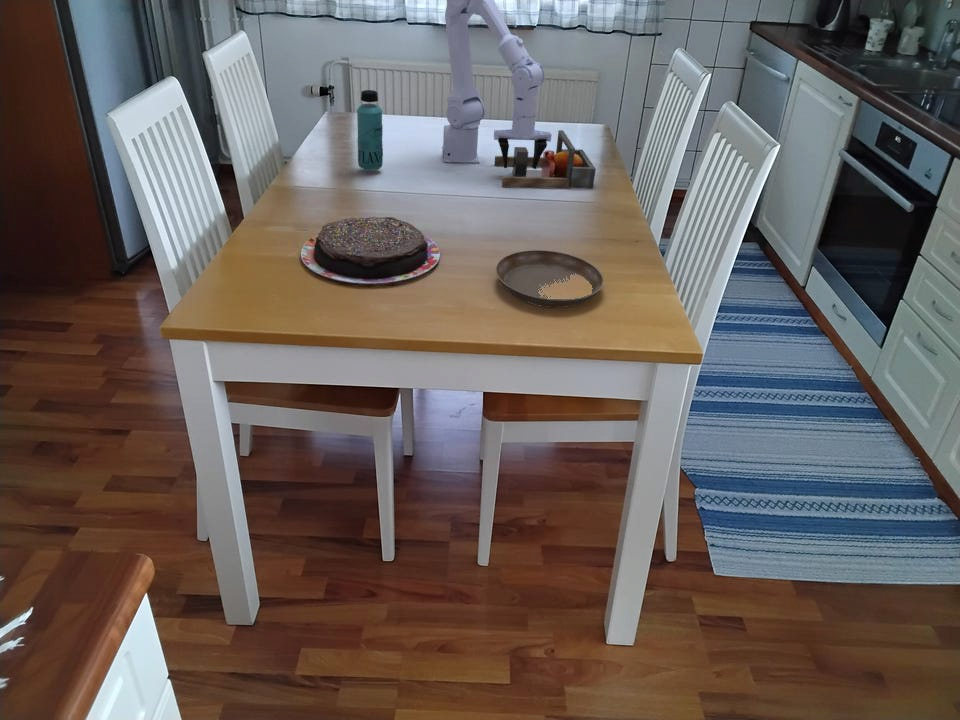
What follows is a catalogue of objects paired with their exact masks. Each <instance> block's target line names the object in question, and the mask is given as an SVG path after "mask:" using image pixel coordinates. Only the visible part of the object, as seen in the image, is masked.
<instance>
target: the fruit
mask: <svg viewBox="0 0 960 720" xmlns="http://www.w3.org/2000/svg"><path fill="white" fill-rule="evenodd" d="M568 155H569V152H568V151H562V152H559V153H556V152H555V153H554V159H553V162H554V163H555V169H554V178H566V170H567V162H568ZM582 166H583V162H582V159H581V158H580V157H579V156H578V155H576V154H574V161H573V167H582Z"/></svg>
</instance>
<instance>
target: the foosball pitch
mask: <svg viewBox="0 0 960 720" xmlns="http://www.w3.org/2000/svg"><path fill="white" fill-rule="evenodd" d="M557 133H558V134H557V141H556V150H555V154H556V153H559V152H562V151H568V152H569V155H568V162H567V170H566V178H560V177H559V178H555V177H554V178H545V177H514V176H502V182H501V187H502V188H521V189H524V188H525V189H529V188H530V189H569V188H578V189H579V188H581V189H582V188H583V189H584V188H585V189H593V188H594V183H595V177H596V171H597V170H596V167H595V166H594V164H593V163H592V161H591V160H590V158H589V157H588V155H587V154H586V152H585V151H584V150H583V149H577V148H575V146H574V145H573V144H572V142H571V140H570V139H569V137H568V136H567V134H566V132H565V131H564V130H561V129H559V130H558V131H557ZM563 144H564V145H565V147H566V148H565V149H564V148H563ZM574 154H576V155H578V156H579V157H580V158H581V159H582V162H583V166H582V167H573V161H574ZM513 160H514V155H512V156H509V155H508V158H507V167H513ZM552 160H553V159H552ZM542 162H543V156H541V157H540V159H539V161H538V164H537V167H536V168H542ZM532 163H533V156H528V162H527V168H530V167H531V168H533V167H532ZM493 165H494V167H504V166H503V156H502V155H494V163H493Z"/></svg>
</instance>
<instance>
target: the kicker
mask: <svg viewBox="0 0 960 720" xmlns="http://www.w3.org/2000/svg"><path fill="white" fill-rule="evenodd" d="M513 150H514V151H513V156H514V160H513V166H512V169H511V173H512V177H545V178H555V176H554V169H555V163H554V162H553V160H552V159H554V155H555V154H556V151H554V150H549V149H548V150H544V151H543V153H542V155H543V156H542V157H543V162H542V167H541V169H540V170H538V169H528V167H527V162H528V157H529V151H528V149H527V146H526V147H525V146H521V147H520V146H514V149H513Z"/></svg>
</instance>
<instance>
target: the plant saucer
mask: <svg viewBox="0 0 960 720" xmlns="http://www.w3.org/2000/svg"><path fill="white" fill-rule="evenodd" d="M575 273H576V274H577V275H580V276H582V277H584V278H585V279H586V280H587V281H589V283H590V284H591V285H592V288H593V289H592V294H590V295H587V296H584V297H581V298H575V299H547V298H548V297H547V296H546V295H545V294H544V295H545V296H546V297H547V298H546V297H545V296H544V295H543V296H544V297H545V298H544V297H543V296H542V297H543V298H542V297H540V296H541V295H540V294H539V293H538V292H539V290H540V291H541V290H542V289H540V288H541V286H544V285H545V283H546V285H547V284H548V285H549V284H550V285H551V284H552V283H553V284H554V282H555V281H556V282H557V281H558V280H559V279H560V280H561V282H562V283H563V282H564V280H563V278H564V279H565V281H566V276H567V278H568V279H569V280H570V275H571V274H572V275H573V274H574V275H575ZM495 274H496V275H497V278H498V280H499V281H500V283H501V284H502V286H503V287H504V288H505V289H506V291H508V292H509V293H510V294H511V295H513V296H514V297H515V296H516V298H517V299H519V300H521V301H523V302H525V301H526V302H525V303H528V302H529V303H528V304H531V303H532V304H531V305H534V304H536V305H535V306H538V305H541V306H540V307H544V306H550V307H549V308H566V307H565V306H569V307H572V305H574V306H577V305H581V304H582V302H583V303H584V302H587V301H588V300H590V299H591V298H593V297H594V296H596V294H597V293H598V292H599V291H600V290H602V287H604V286H603V285H604V276H603V275H602V272H601V271H600V270H599V269H598V268H597V267H596V266H595V265H593V264H592V263H591V262H589V261H586V260H585V259H583V258H581V257H578V256H575V255H571V254H569V253H564V252H559V251H553V250H540V249H539V250H538V249H533V250H531V249H530V250H523V251H518V252H514V253H510V254H508V255H506V256H504V257H503V258H501V259H500V260H499V261H498V262H497V264H496V265H495ZM554 279H555V281H554ZM560 280H559V281H560ZM562 280H563V281H562ZM559 281H558V282H557V283H559ZM567 281H568V280H567ZM567 281H566V282H567ZM550 282H551V283H550ZM540 284H541V285H540ZM539 285H540V286H539ZM546 285H545V286H546ZM550 285H549V287H550ZM544 288H545V287H544ZM538 289H539V290H538ZM542 292H543V291H542ZM542 292H541V293H542ZM550 297H551V296H550Z"/></svg>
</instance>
